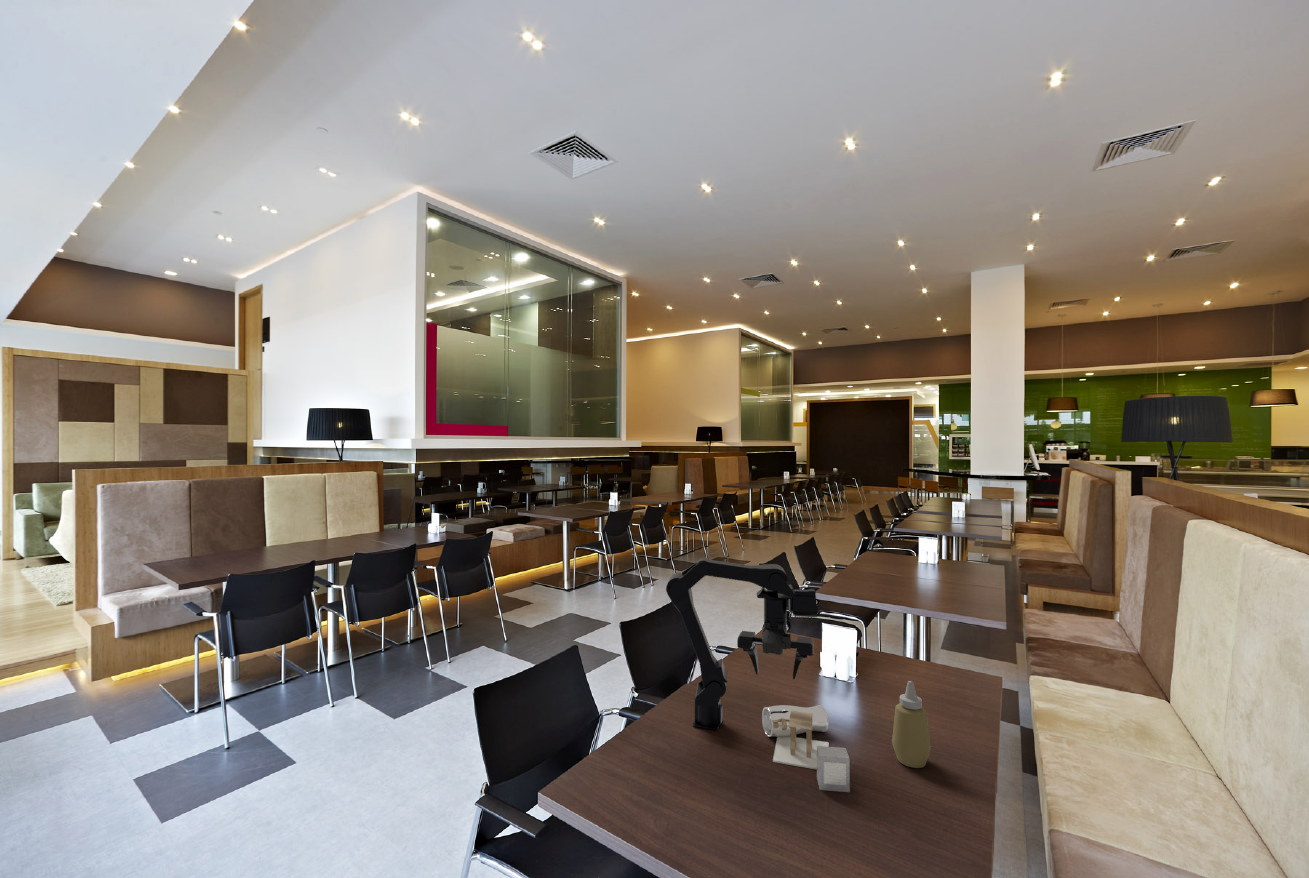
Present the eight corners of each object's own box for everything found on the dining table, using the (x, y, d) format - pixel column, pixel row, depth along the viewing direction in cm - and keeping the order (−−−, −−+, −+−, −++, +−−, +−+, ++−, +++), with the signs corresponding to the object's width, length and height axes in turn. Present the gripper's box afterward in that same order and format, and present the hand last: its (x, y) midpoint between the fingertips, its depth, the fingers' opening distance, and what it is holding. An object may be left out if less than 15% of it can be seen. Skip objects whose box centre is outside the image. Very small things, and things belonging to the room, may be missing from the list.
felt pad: (772, 762, 125) (772, 760, 125) (777, 736, 137) (777, 734, 137) (828, 771, 122) (828, 769, 122) (828, 744, 133) (828, 742, 133)
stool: (791, 743, 132) (791, 710, 132) (812, 747, 131) (812, 713, 131) (789, 754, 128) (789, 719, 128) (811, 758, 126) (811, 723, 126)
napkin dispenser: (820, 791, 115) (820, 757, 115) (816, 778, 119) (816, 745, 119) (850, 793, 114) (849, 759, 114) (845, 781, 118) (845, 747, 118)
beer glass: (831, 719, 135) (774, 723, 132) (825, 740, 138) (769, 744, 135) (819, 696, 142) (764, 699, 139) (813, 717, 144) (759, 720, 141)
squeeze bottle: (928, 755, 128) (927, 677, 128) (933, 775, 120) (932, 691, 121) (890, 749, 131) (890, 672, 131) (893, 767, 123) (892, 686, 123)
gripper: (733, 620, 137) (733, 684, 136) (811, 628, 131) (812, 695, 130) (740, 608, 147) (740, 667, 147) (813, 615, 141) (813, 676, 141)
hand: (775, 676), depth 141 cm, fingers open, 9 cm apart
